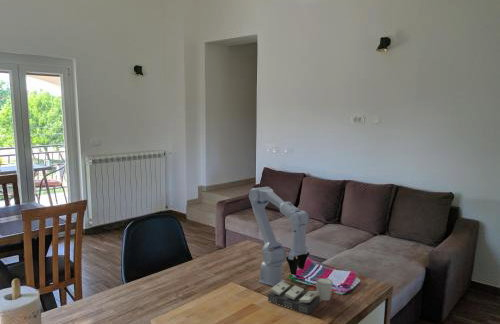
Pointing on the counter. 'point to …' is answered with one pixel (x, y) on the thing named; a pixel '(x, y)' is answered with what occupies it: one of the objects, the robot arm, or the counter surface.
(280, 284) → the pale rectangular block
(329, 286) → the shot glass
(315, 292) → the cabinet drawer
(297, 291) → the filing cabinet drawer
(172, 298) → the counter surface
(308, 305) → the filing cabinet
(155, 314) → the counter surface
